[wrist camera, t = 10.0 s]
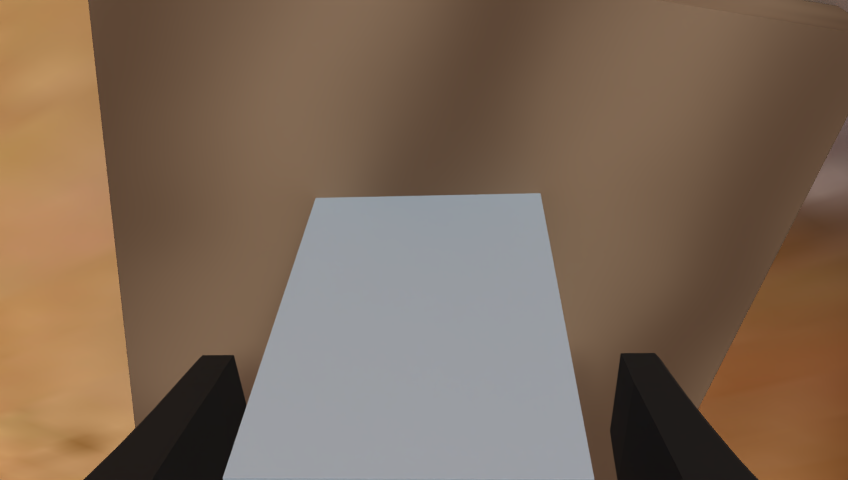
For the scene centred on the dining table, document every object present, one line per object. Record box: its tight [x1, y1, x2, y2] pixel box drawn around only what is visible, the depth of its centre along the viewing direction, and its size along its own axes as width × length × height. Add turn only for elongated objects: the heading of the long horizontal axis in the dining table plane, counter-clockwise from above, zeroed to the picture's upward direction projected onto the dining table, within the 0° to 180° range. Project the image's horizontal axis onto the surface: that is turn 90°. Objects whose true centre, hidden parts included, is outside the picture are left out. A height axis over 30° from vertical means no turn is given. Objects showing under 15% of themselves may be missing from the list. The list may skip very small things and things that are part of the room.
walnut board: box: [88, 0, 848, 480], centre depth 17 cm, size 14×14×2 cm
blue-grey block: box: [223, 193, 594, 480], centre depth 13 cm, size 5×5×7 cm
